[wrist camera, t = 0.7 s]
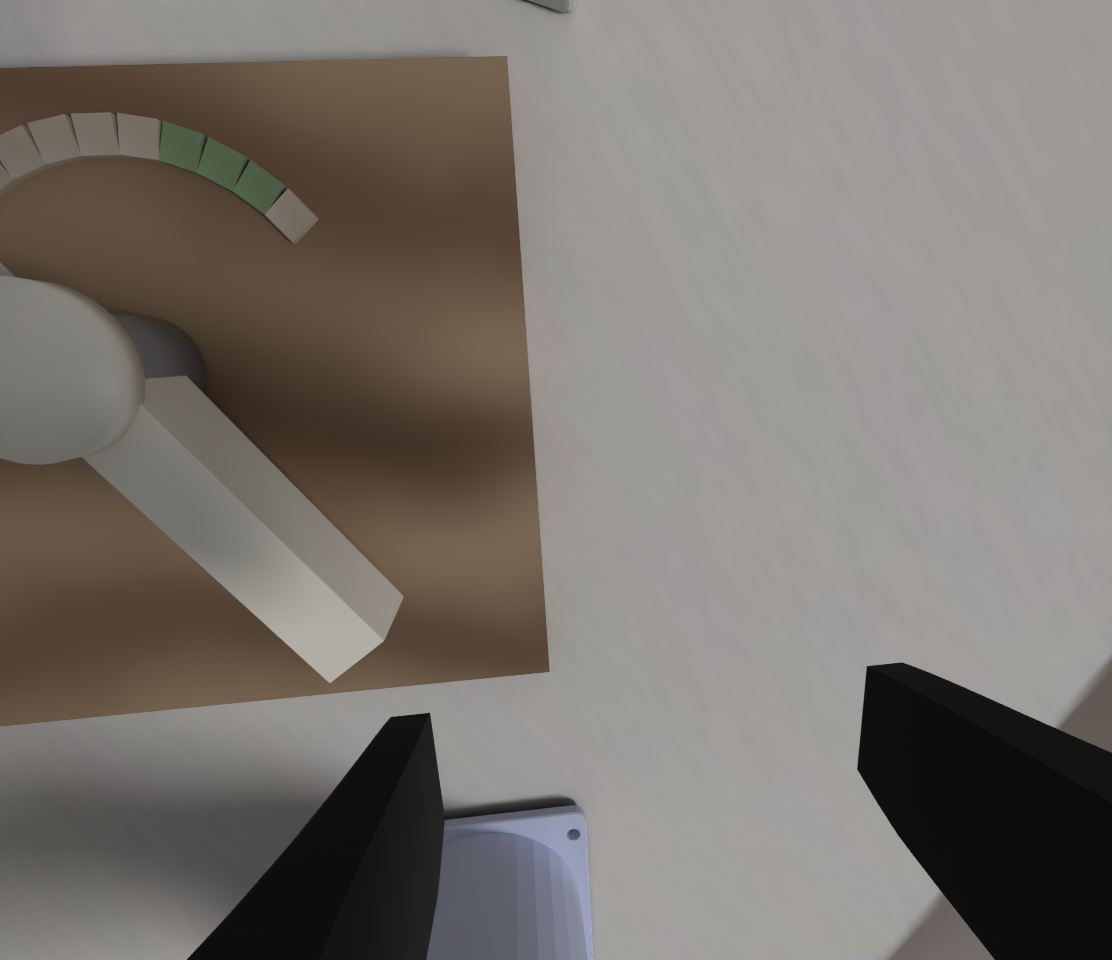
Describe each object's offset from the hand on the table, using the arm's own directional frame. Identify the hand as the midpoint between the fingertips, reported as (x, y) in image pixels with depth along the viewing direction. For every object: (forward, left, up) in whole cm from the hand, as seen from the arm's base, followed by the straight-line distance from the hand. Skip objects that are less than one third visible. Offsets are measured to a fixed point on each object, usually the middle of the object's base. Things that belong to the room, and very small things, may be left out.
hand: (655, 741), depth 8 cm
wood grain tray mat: (+5, +11, -9) cm, 16 cm away
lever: (+5, +10, -8) cm, 14 cm away
